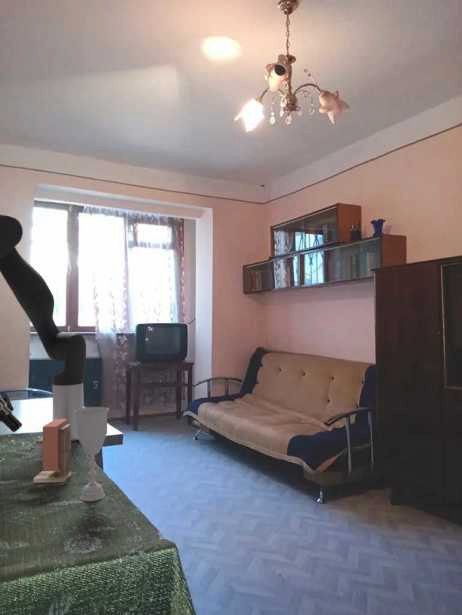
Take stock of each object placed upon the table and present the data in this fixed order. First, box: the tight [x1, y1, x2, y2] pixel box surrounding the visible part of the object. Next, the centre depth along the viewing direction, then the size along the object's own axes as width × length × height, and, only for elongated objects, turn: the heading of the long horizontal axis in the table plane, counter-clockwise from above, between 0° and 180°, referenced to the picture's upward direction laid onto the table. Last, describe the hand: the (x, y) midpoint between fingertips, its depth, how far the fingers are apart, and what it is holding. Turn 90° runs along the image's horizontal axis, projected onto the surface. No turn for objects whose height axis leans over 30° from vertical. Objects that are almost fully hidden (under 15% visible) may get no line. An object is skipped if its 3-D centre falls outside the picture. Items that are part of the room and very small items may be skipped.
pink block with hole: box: [42, 419, 68, 471], centre depth 108 cm, size 8×3×10 cm, turn 2°
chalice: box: [74, 406, 110, 502], centre depth 97 cm, size 7×7×18 cm
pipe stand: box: [32, 424, 72, 484], centre depth 108 cm, size 5×7×12 cm
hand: (18, 428), depth 108 cm, fingers closed
